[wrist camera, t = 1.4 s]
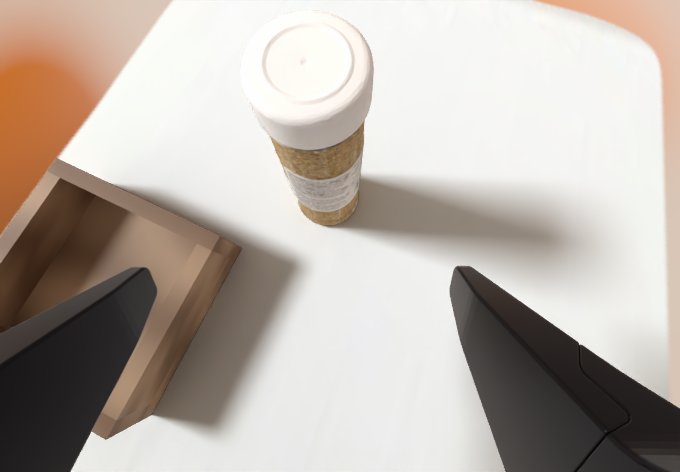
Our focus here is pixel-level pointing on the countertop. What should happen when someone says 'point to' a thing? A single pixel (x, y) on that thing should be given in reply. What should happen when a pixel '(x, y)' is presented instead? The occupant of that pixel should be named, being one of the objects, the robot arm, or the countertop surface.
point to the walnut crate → (112, 274)
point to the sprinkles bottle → (313, 106)
